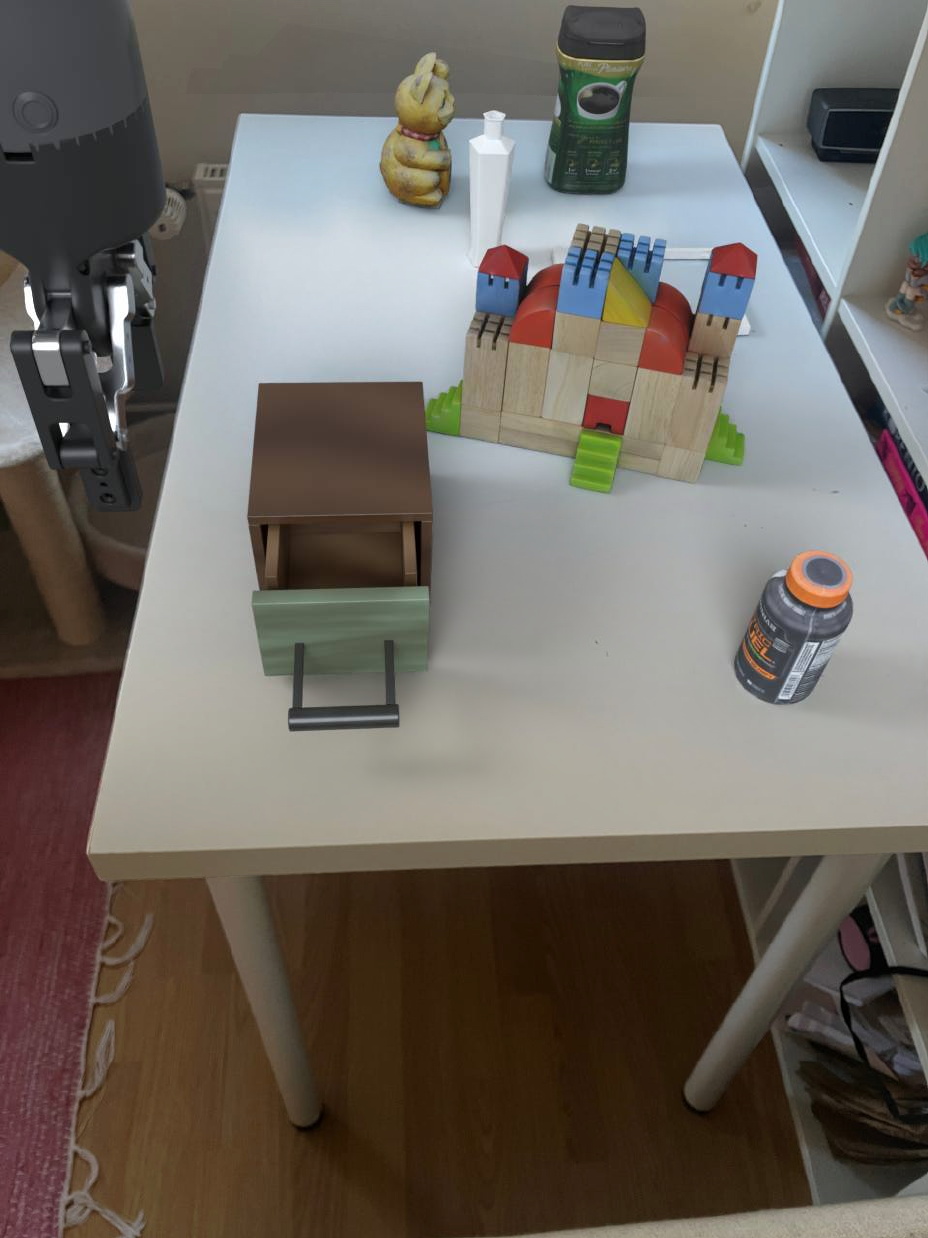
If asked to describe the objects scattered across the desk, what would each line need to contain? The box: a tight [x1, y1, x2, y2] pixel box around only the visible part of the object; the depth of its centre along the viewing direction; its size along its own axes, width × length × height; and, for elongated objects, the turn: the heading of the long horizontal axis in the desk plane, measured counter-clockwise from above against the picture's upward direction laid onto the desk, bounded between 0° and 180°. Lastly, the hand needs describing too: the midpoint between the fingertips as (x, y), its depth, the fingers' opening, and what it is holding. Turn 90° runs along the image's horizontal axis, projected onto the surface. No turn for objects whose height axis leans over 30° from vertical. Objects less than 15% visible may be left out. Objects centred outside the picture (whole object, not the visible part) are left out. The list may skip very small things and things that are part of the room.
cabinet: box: [246, 381, 434, 599], centre depth 77 cm, size 15×13×10 cm
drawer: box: [251, 521, 431, 733], centre depth 70 cm, size 20×11×8 cm, turn 4°
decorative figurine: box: [378, 51, 456, 209], centre depth 109 cm, size 10×8×15 cm
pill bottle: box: [733, 549, 854, 706], centre depth 69 cm, size 6×6×11 cm
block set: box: [425, 222, 758, 494], centre depth 82 cm, size 28×14×19 cm, turn 76°
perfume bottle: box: [466, 109, 516, 268], centre depth 102 cm, size 5×4×15 cm
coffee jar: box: [543, 4, 647, 195], centre depth 112 cm, size 10×8×19 cm
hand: (131, 443), depth 47 cm, fingers open, 8 cm apart
